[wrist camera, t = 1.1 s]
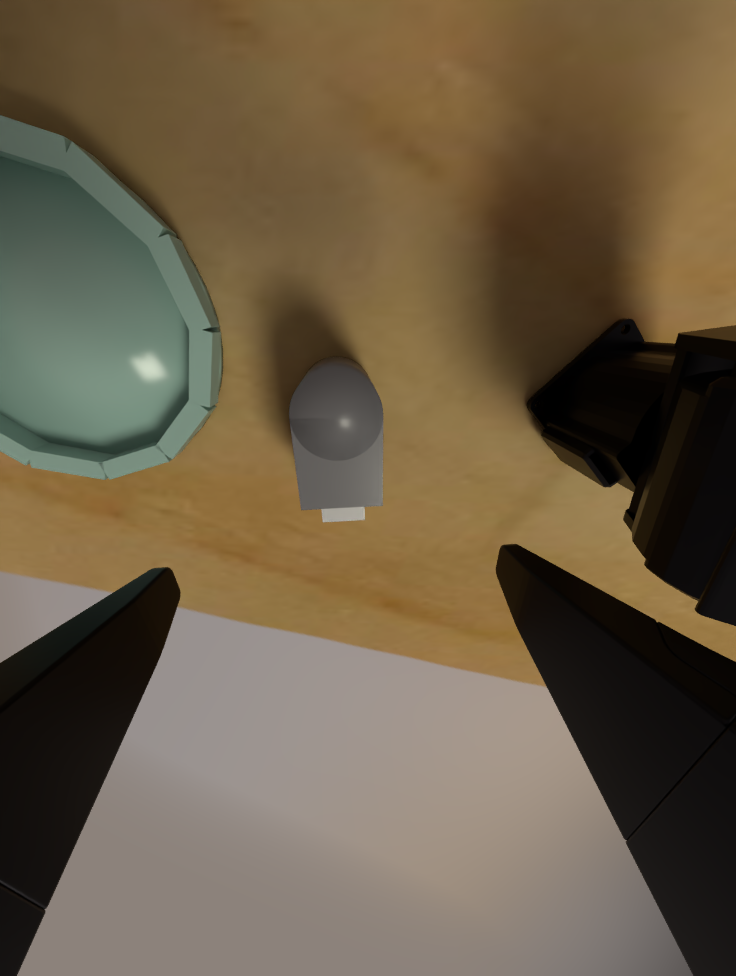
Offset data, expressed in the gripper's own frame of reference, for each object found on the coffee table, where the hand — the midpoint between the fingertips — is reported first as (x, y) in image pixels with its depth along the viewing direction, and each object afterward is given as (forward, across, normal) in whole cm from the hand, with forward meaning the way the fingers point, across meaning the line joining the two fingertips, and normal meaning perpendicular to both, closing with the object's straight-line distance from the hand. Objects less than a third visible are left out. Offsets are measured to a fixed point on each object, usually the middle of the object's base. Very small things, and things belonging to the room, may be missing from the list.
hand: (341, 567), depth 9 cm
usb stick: (+12, 0, 0) cm, 12 cm away
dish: (+12, +13, -6) cm, 18 cm away
